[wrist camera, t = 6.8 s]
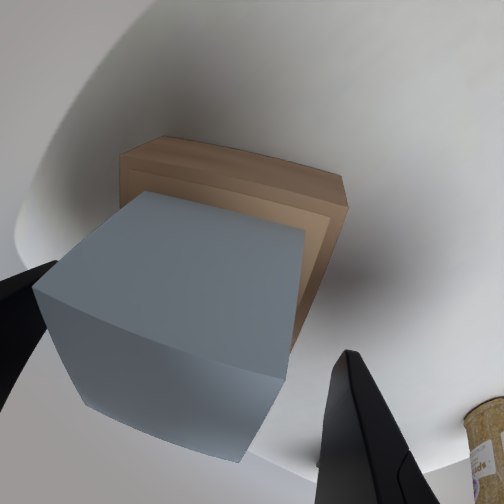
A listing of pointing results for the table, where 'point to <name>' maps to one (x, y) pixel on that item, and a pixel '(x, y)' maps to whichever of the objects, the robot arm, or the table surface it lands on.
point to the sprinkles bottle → (487, 451)
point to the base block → (246, 195)
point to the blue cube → (178, 319)
